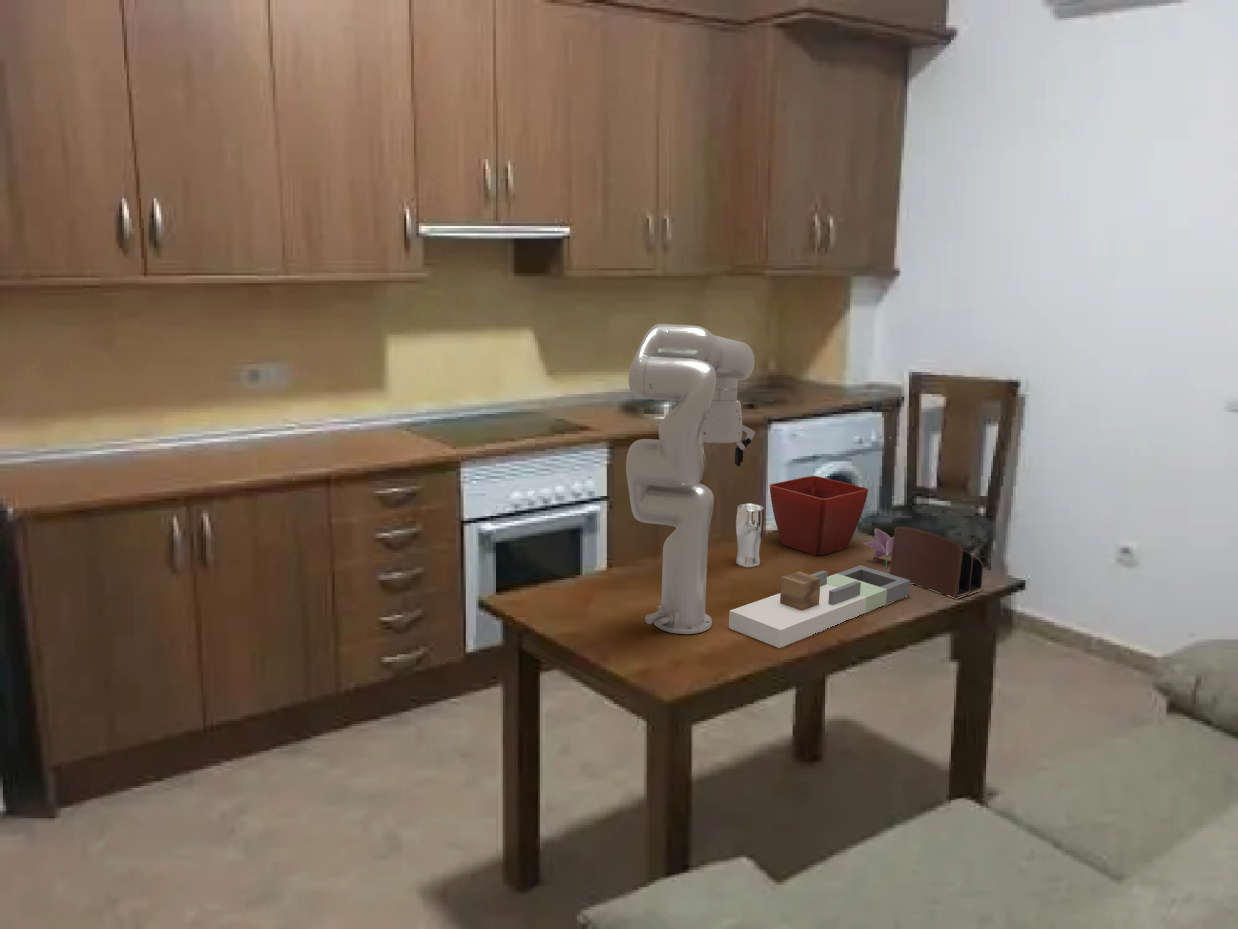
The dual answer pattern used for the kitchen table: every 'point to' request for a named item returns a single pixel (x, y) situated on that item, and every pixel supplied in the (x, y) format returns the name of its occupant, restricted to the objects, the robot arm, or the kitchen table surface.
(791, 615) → the channel deck
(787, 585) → the walnut block
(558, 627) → the kitchen table surface
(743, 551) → the beer glass
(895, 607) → the kitchen table surface
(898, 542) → the letter holder
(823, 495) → the plant pot
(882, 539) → the lily
